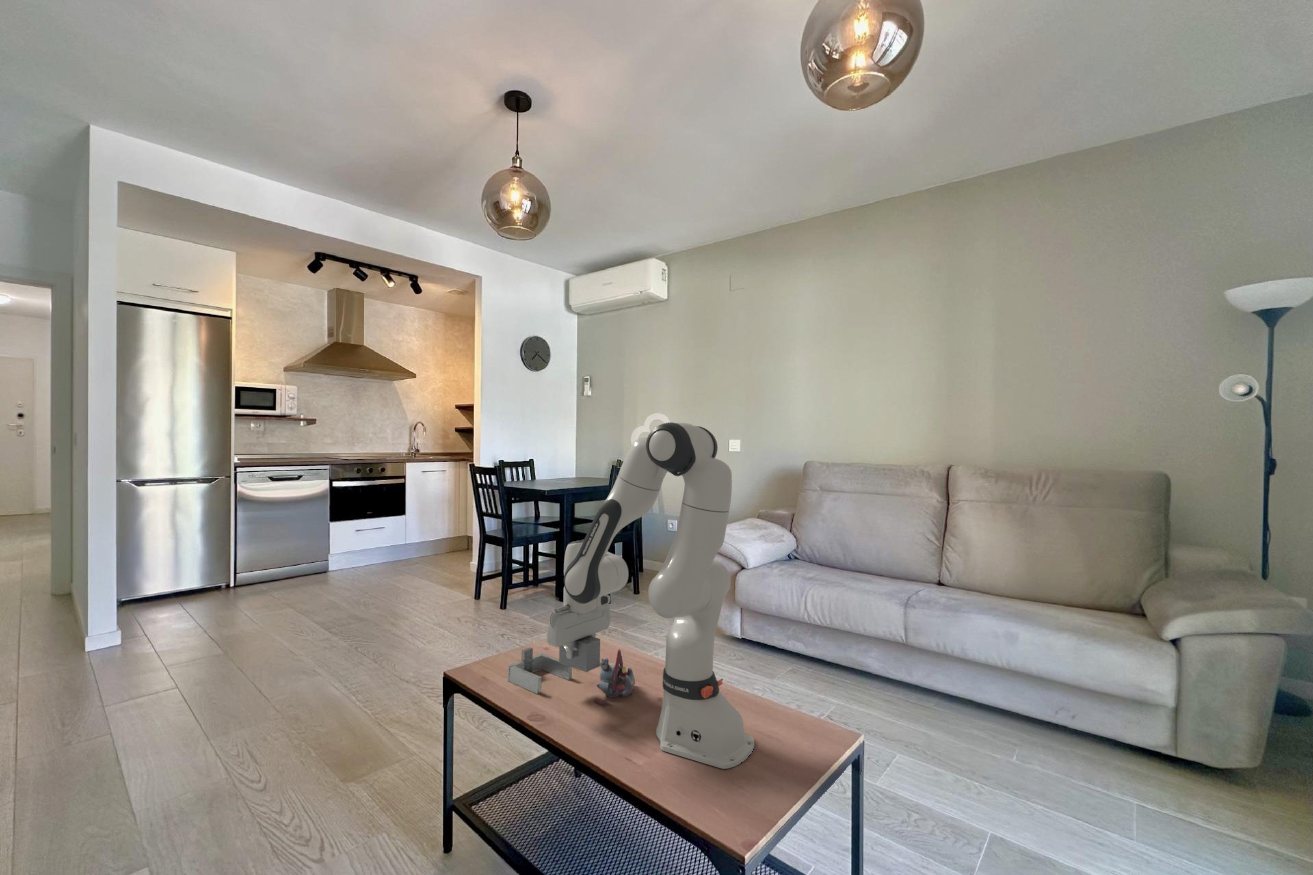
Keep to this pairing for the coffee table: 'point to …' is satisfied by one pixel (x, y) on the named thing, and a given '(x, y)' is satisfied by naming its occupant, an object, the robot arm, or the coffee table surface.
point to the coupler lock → (582, 654)
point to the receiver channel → (524, 670)
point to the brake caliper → (615, 678)
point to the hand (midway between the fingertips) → (579, 654)
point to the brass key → (624, 669)
